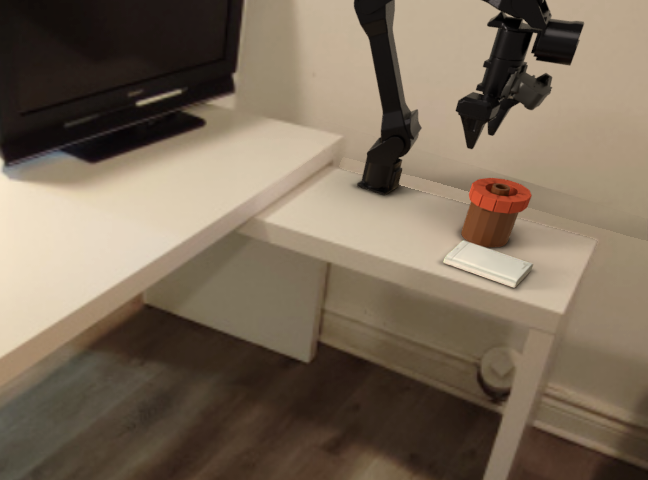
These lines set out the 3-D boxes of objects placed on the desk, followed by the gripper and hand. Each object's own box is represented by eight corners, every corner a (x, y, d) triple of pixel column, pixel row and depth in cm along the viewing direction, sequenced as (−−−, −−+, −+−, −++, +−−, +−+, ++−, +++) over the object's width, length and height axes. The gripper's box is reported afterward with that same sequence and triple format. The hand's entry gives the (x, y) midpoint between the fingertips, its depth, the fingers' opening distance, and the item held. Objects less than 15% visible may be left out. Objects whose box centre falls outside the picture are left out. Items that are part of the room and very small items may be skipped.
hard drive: (534, 262, 137) (463, 238, 143) (517, 281, 132) (445, 255, 138) (530, 270, 138) (461, 246, 144) (513, 289, 133) (442, 263, 139)
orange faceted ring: (459, 200, 143) (463, 189, 142) (483, 184, 149) (487, 173, 147) (512, 218, 138) (517, 207, 136) (535, 201, 143) (540, 189, 142)
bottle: (453, 236, 147) (469, 186, 141) (472, 222, 152) (488, 173, 145) (496, 252, 143) (515, 201, 136) (514, 236, 147) (533, 186, 141)
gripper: (533, 78, 130) (502, 169, 140) (574, 54, 140) (542, 140, 150) (467, 63, 136) (442, 151, 145) (511, 41, 146) (485, 124, 156)
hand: (480, 141), depth 149 cm, fingers open, 9 cm apart
